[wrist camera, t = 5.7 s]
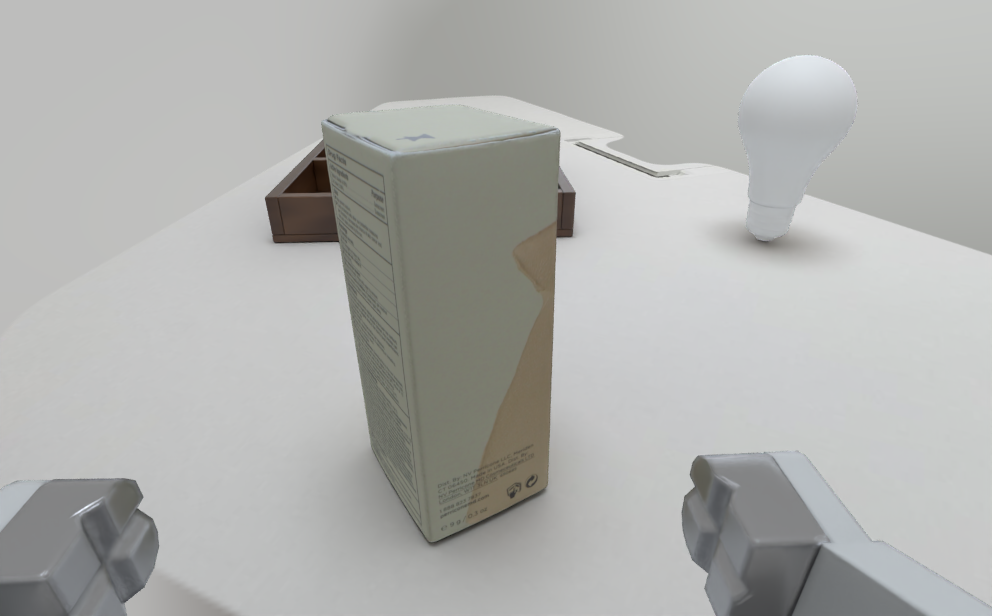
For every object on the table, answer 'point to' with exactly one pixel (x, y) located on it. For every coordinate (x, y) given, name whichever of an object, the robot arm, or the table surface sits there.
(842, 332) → the table surface
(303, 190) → the grid
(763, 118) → the lightbulb
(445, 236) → the box
